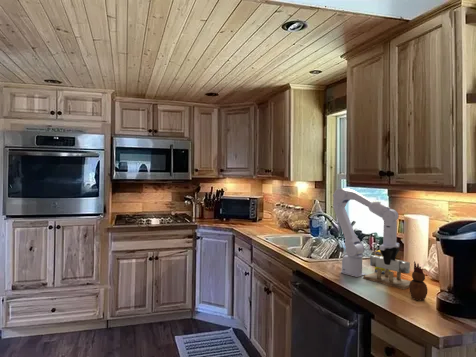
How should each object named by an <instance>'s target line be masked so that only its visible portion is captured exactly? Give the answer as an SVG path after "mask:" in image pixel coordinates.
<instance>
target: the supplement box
mask: <svg viewBox="0 0 476 357" xmlns="http://www.w3.org/2000/svg"><path fill="white" fill-rule="evenodd" d="M374 255H376V256H380V257H383V256H382V253H381V252H380V250H379V249H378V250H376V251H375V253H374ZM377 269H381V274H384V275H385V269H384V268H380V267H374V273H375V272H376V273H377ZM389 272H391V270H389Z"/></svg>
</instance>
